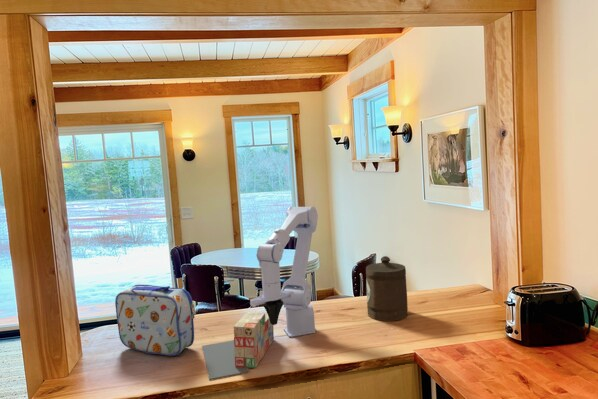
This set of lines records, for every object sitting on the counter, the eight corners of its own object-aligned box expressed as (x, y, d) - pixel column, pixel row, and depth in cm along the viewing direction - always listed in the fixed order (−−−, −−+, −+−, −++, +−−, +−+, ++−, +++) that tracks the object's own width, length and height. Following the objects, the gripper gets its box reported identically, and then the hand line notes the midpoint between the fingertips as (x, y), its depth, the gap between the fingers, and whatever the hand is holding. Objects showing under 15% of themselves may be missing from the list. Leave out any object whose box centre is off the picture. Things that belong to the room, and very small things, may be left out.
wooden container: (378, 305, 176) (375, 251, 174) (413, 311, 167) (411, 254, 165) (360, 317, 164) (358, 259, 162) (398, 324, 155) (395, 263, 154)
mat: (235, 341, 148) (235, 339, 148) (248, 372, 125) (248, 371, 125) (202, 346, 145) (202, 345, 145) (209, 380, 122) (209, 378, 122)
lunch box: (203, 347, 145) (198, 281, 143) (184, 361, 135) (179, 291, 133) (137, 339, 155) (132, 277, 153) (115, 351, 145) (109, 286, 143)
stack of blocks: (256, 338, 149) (255, 302, 148) (274, 339, 148) (273, 303, 147) (234, 366, 128) (233, 325, 127) (255, 368, 127) (254, 326, 126)
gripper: (284, 274, 145) (286, 315, 146) (244, 283, 137) (247, 325, 139) (296, 279, 139) (298, 320, 140) (255, 288, 132) (257, 332, 133)
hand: (273, 323), depth 139 cm, fingers closed
